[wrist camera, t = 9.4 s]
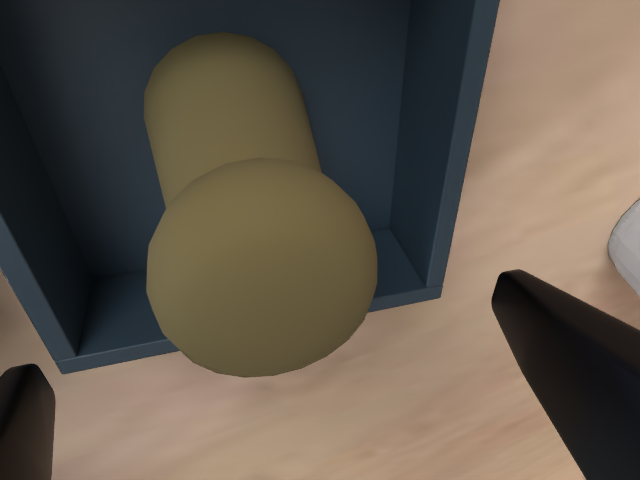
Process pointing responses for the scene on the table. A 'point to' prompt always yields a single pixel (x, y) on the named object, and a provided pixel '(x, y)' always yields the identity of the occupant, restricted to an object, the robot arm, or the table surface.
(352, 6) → the basin
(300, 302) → the cork
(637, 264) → the coffee cup
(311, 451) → the table surface
